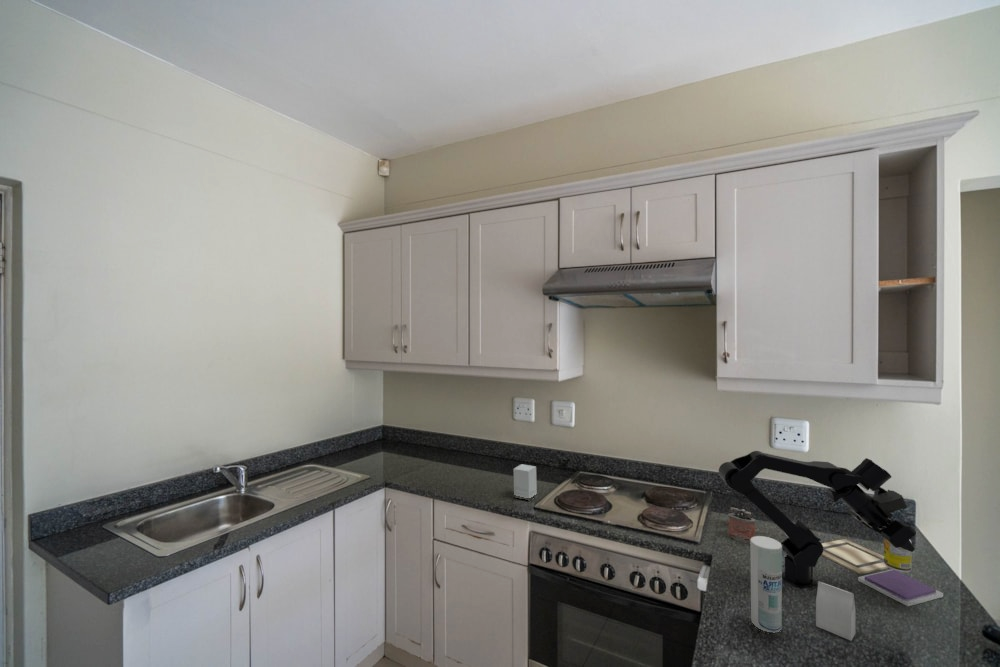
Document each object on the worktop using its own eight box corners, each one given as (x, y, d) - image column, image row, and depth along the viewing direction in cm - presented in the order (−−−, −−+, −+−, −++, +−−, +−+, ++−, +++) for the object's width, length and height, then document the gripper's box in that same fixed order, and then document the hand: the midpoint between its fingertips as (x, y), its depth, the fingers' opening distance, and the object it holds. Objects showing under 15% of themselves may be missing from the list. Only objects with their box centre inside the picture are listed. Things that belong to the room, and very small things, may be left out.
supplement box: (537, 496, 190) (537, 466, 190) (528, 502, 184) (528, 471, 184) (522, 492, 194) (521, 463, 194) (513, 498, 188) (512, 468, 188)
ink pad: (907, 606, 114) (907, 600, 114) (858, 580, 125) (858, 575, 125) (943, 597, 117) (943, 591, 117) (891, 572, 129) (891, 567, 129)
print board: (859, 574, 128) (860, 572, 128) (807, 548, 144) (807, 545, 144) (900, 565, 133) (900, 563, 133) (845, 540, 148) (845, 538, 148)
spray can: (770, 615, 111) (770, 535, 111) (788, 634, 104) (788, 548, 104) (744, 616, 111) (744, 536, 110) (761, 635, 104) (760, 549, 104)
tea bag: (851, 641, 102) (851, 597, 102) (815, 626, 107) (815, 584, 107) (855, 633, 104) (855, 590, 104) (820, 619, 110) (820, 578, 109)
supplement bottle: (887, 560, 125) (887, 523, 125) (914, 569, 121) (914, 531, 120) (880, 566, 122) (881, 529, 122) (907, 575, 117) (908, 536, 117)
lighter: (756, 541, 148) (756, 511, 148) (753, 545, 146) (753, 514, 146) (730, 533, 154) (730, 504, 154) (727, 537, 151) (727, 507, 151)
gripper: (907, 495, 112) (958, 542, 110) (862, 470, 131) (905, 511, 129) (871, 524, 114) (921, 571, 112) (831, 496, 132) (874, 536, 130)
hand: (905, 545), depth 121 cm, fingers closed on supplement bottle, 5 cm apart
